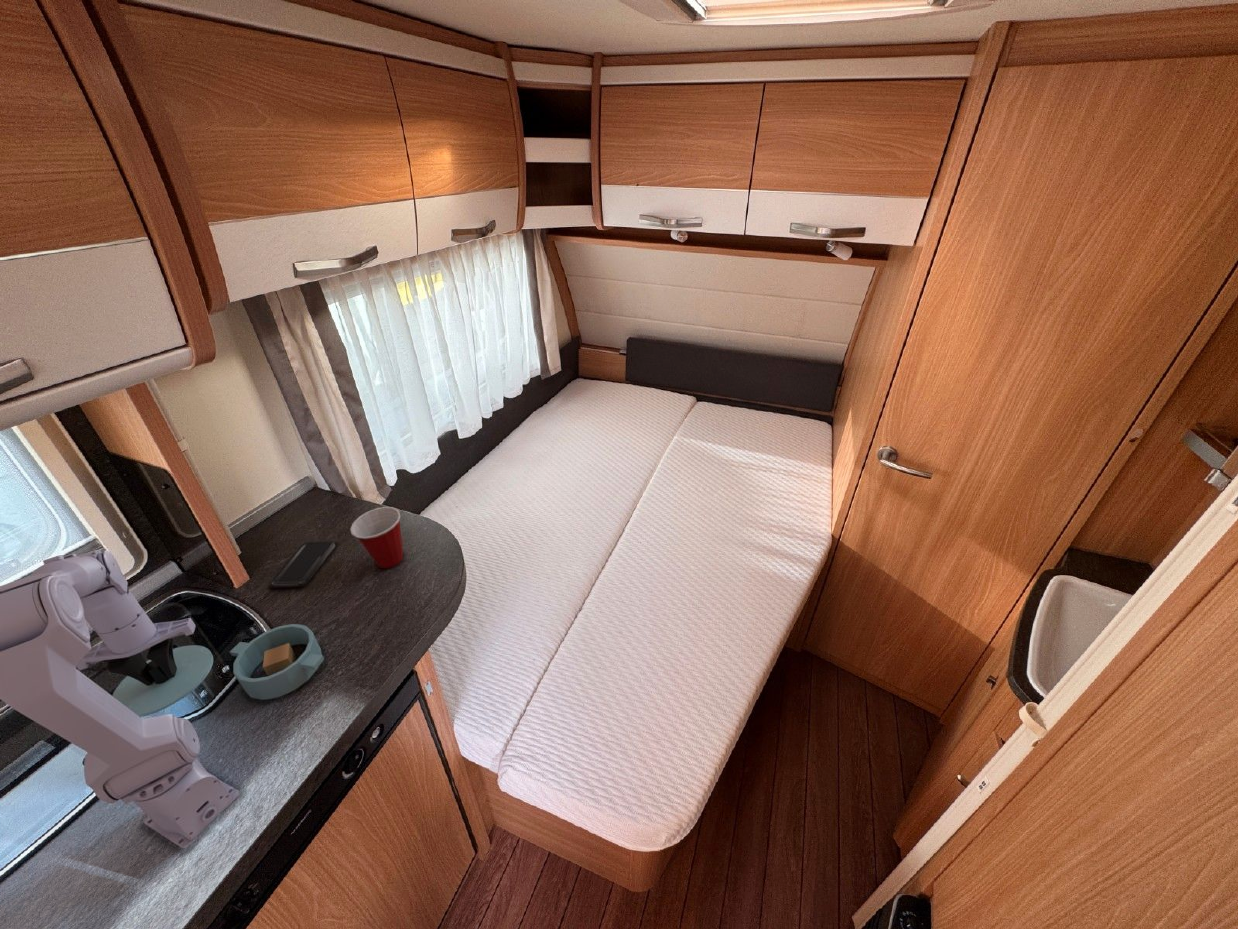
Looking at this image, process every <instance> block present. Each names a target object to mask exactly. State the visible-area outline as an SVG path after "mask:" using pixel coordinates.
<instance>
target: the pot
mask: <svg viewBox="0 0 1238 929" xmlns="http://www.w3.org/2000/svg"><path fill="white" fill-rule="evenodd" d="M287 643H289V644H290V646H291V647H292V646H297V645H306V648H305V650H304V651H303V652H302V654H301V655H299V657H298V658H296V661H295V662H294V663H293V664H291V665H290V666H288V667H287V668H285V669H284V670H282V671H280V672H277V673H275V674H273V675H270V676H268V675H267V676H262V677H256V678H252V675H253V672H254V670H255V669H256V668H257V667H258V666H259V665H260V664H261V663H262V662H263V661H264V652H265V651H267V650H270V649H273V648H276V647H279V646H282V645H284V644H287ZM229 654H230V655H231V656H232V657H236V658H235V659H234V662H233V663H232V664H233V665H232V666H233V671H232V673H233V676H234V677H235V678H236V680H237V681H238V683H239V684H240V686H241V688H242V689H243V690H244V692H245V693H246V694H247V695H248V696H249V697H250V698H251V699H256V700H260V701H261V700H262V701H265V700H270V699H271V700H272V699H276V698H281V697H282V696H284V695H286V694H289V693H292V692H293V691H295V690H296V689H298V688H299V687H301V686H302V685H303V684H304V683H306V682H307V681H309V680H310V679H311V677H313V675H314V674H315V672H316V671H317V670H318V669H319V667H320V665H321V664H322V663H323V662H324V660H325V657H324V655H323V653H322V648H321V646H320V644H319V642H318V640H317V638H316V636H315V634H314V632H313V631H312V630H311V629H310V628H309V627H308V626H307V625H304V624H298V623H291V624H285V625H278V626H276V627H274V628H272V629H269V630H266V631H264V632H263V633H261V634H260V635H258V636H257V637H255V638H253V639H252V640H251V641H249V642H245V641H244V642H243V641H239V642H238V643H237V644H236V645H235V646H234V647H233V648H232V649H231V650H230V651H229Z"/></svg>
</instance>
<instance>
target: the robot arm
mask: <svg viewBox="0 0 1238 929" xmlns="http://www.w3.org/2000/svg"><path fill="white" fill-rule="evenodd" d="M42 563H43V565H41V566H39V567H38V568H36V569H35V570H34V571H33V572H32V573H31V574H30V575H29V576H26V577H24V578H21V579H17V580H13V581H11V582H9V583H5V584H2V585H0V700H1V701H2V702H3V703H5V704H6V705H7V706H9V707H10V708H11V709H13V710H15V711H16V712H18V713H20V714H21V715H23V716H25V718H28V719H30V720H32V721H33V722H35V723H37V724H39V725H40V726H42V727H43V728H45V729H47V730H49V731H50V732H52V733H54V734H56V735H57V736H60V738H62V739H64V740H66V741H67V742H69V743H71V744H73V745H74V746H76V747H78V748H79V749H81V750H82V751H84V752H86V755H85V757H84V762H83V775H84V781H85V785H87V786H88V787H89V788H90V789H91V790H92V791H93V793H94V794H95V796H96V797H97V798H98V799H99V800H100V801H101V802H104V803H108V804H115V803H117V802H118V801H119V800H121V801H122V802H123V803H124V805H125V804H126V805H127V804H129V803H132V802H133V803H134V804H135V805H137V807H138V808H139V809H140V810H141V811H142V812H143V813H144V814H145V815H146V816H147V817H146V818H145V819H144V821H143V824H144V825H146V826H147V827H149V828H151V829H152V830H153V831H155V832H156V833H158V834H159V835H161V836H162V837H163V838H166V839H168V840H169V841H170V842H172V843H174V844H175V845H177V846H178V847H180V848H181V849H186V848H188V847H189V846H190V845H191V844H192V843H193V842H194V840H196V839H197V838H198V836H199V835H200V834H201V833H202V832H204V830H205V829H206V828H207V827H209V825H210V824H211V823H212V822H213V821H214V820H216V818H217V817H218V816H219V815H220V814H221V813H222V812H223V811H225V810H227V809H228V807H229V806H231V804H233V802H234V801H235V800H236V799H237V798H238V797H239V796H240V794H241V792H240V790H238V789H237V788H235V787H233V786H231V785H230V784H228V783H226V782H224V781H222V780H220V779H219V778H217V777H216V775H213V774H211V773H210V772H208V771H207V770H206V768H205V767H204V766H203V765H202V764H201V762H200V761H199V760H198V756H199V754H200V750H201V746H200V740H199V737H198V733H197V732H196V729H195V727H194V725H193V724H192V723H191V722H190V721H189V719H186V718H183V717H177V716H176V715H174V714H172V713H170V714H169V713H168V714H161V715H156V716H151V717H145V718H144V717H143V718H142V717H139V716H138V715H136V714H135V713H134V712H132V711H131V710H130V709H128V708H127V707H126V706H125V705H123V704H122V703H121V702H119V701H118V700H117V699H115V698H114V697H113V696H112V694H111V693H109V692H107V691H106V690H105V689H104V688H102V687H101V686H100V685H98V684H97V683H95V682H94V681H93V680H92V679H90V678H89V677H87V675H85V674H84V673H82V672H81V671H82V670H85V669H88V668H89V667H90V665H93V664H96V663H99V662H102V661H107V663H108V665H107V670H108V672H109V673H111V674H117V675H118V674H119V675H122V676H125V677H127V676H129V677H132V678H134V679H136V680H138V681H140V682H142V683H143V684H145V685H147V686H149V685H152V684H153V681H152V679H151V678H150V677H149V675H148V674H147V673H146V672H145V670H144V667H145V666H146V665H147V664H148V663H147V662H146V661H147V660H151V661H153V662H154V663H156V664H157V665H158V666H159V667H160V668H161V669H162V671H163V672H164V673H165V675H166V676H167V677H168V678H172V677H175V674H176V671H177V667H176V664H175V660H174V656H173V649H174V638H177V637H179V636H183V635H185V637H188V636H191V635H193V634H194V632H195V630H196V624H195V623H194V620H193V619H192V618H191V617H188V618H184V619H180V620H172V621H163V622H156V623H155V622H153V621H152V620H151V618H150V617H149V615H148V614H147V613H146V611H145V610H144V609H143V607H142V606H141V604H140V603H139V601H138V600H137V599H136V598H135V596H134V595H133V593H132V591H130V589H129V588H128V584H129V582H128V581H127V578H126V576H125V575H124V574H123V571H121V567H120V565H119V563H118V561H117V559H116V557H115V556H114V554H113V553H112V552H111V551H109V550H103V551H101V550H100V549H95V550H92V551H89V552H84V553H82V554H78V555H77V554H76V553H69V554H67V555H62V554H59V555H56V556H52V557H49V558H45V559H44V560H42ZM88 624H89V626H90V627H91V629H92V630H93V631H94V632H95V634H97V636H98V637H99V638H100V639H101V641H102V642H100V643H99V644H96V645H94V646H92V645H91V642H90V641H91V634H90V630H89V627H88ZM147 649H148V652H147V654H146V658H147V660H146V659H145V657H144V656H143V654H142V652H143V651H146V650H147ZM150 821H151V822H150ZM180 841H182V842H180Z"/></svg>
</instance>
